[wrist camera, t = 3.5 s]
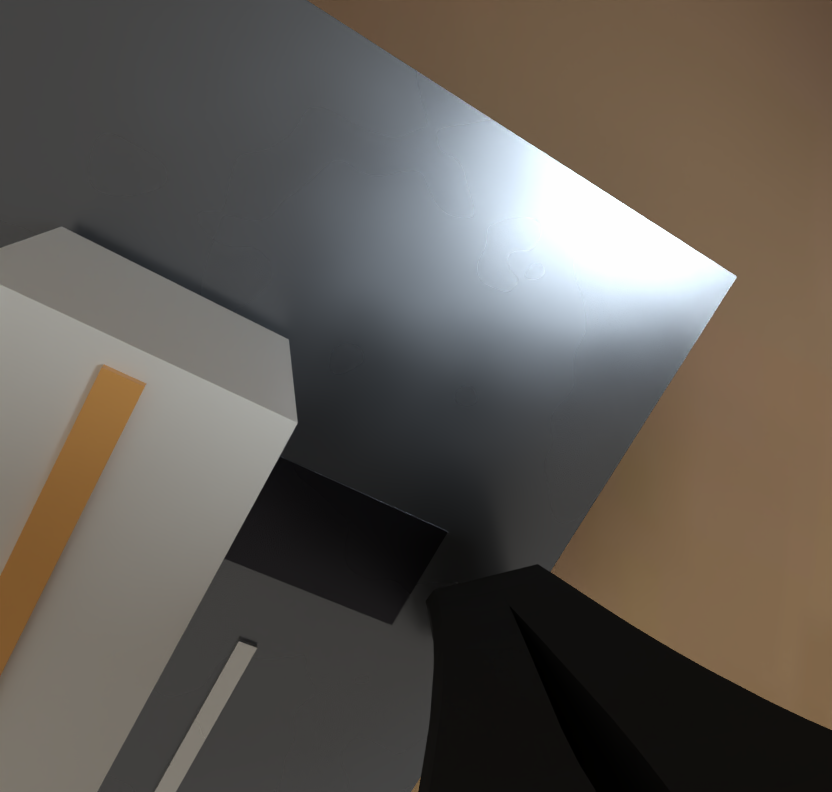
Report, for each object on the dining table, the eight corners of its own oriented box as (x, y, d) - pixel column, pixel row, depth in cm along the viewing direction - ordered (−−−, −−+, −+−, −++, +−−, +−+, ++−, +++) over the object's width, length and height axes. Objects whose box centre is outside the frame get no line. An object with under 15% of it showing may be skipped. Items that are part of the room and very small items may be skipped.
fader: (288, 339, 8) (297, 426, 6) (126, 647, 9) (67, 852, 6) (61, 226, 8) (-50, 265, 5) (-96, 569, 8) (-267, 763, 6)
